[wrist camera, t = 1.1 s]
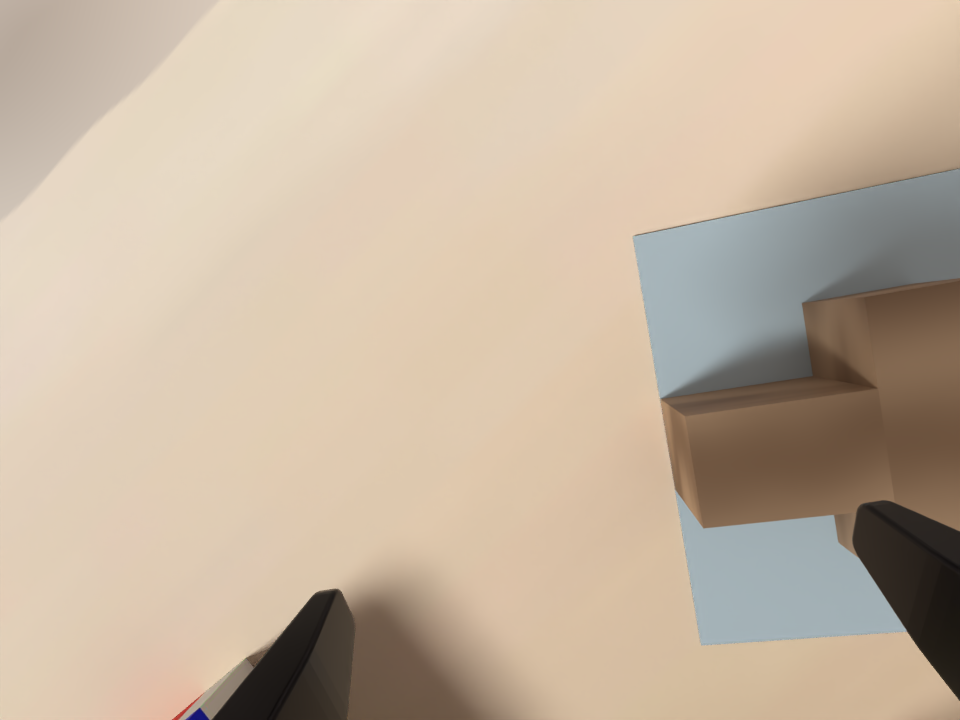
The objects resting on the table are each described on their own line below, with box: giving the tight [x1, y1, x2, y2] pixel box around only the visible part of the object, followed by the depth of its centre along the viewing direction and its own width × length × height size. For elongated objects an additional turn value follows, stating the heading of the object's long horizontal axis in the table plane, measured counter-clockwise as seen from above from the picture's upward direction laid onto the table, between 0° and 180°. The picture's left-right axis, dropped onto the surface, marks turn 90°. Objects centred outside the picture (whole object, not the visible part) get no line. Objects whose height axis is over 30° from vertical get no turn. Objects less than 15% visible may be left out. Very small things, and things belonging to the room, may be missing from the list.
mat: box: [633, 169, 960, 645], centre depth 19 cm, size 18×22×1 cm
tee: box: [660, 278, 960, 558], centre depth 18 cm, size 10×10×4 cm
